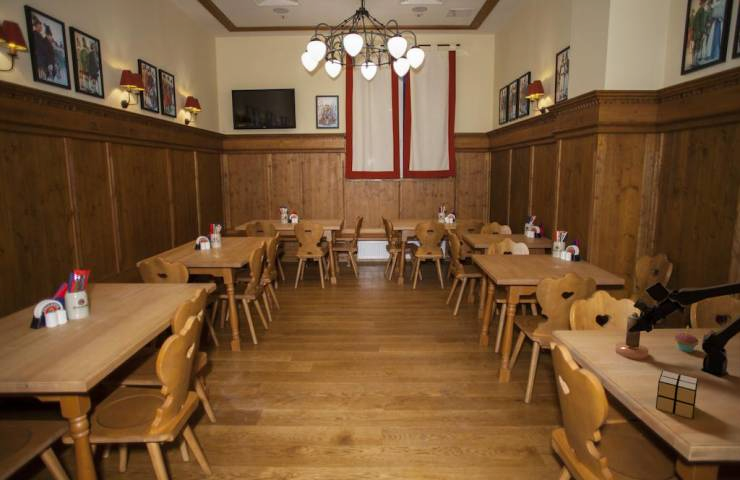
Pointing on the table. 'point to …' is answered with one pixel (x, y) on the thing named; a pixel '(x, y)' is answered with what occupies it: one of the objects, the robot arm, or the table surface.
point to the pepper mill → (632, 337)
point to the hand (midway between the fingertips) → (630, 329)
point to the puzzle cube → (676, 394)
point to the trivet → (631, 351)
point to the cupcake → (686, 341)
